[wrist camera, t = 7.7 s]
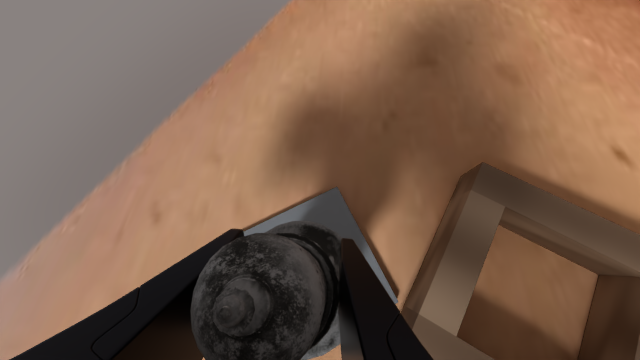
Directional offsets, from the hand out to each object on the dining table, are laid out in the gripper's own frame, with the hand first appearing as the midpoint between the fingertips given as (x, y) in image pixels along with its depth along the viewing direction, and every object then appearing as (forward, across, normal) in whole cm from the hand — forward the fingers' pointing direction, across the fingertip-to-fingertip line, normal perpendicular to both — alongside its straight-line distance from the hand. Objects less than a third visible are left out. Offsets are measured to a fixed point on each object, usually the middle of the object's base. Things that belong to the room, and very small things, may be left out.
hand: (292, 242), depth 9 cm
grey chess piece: (+4, 0, +6) cm, 7 cm away
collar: (+6, -14, +8) cm, 18 cm away
